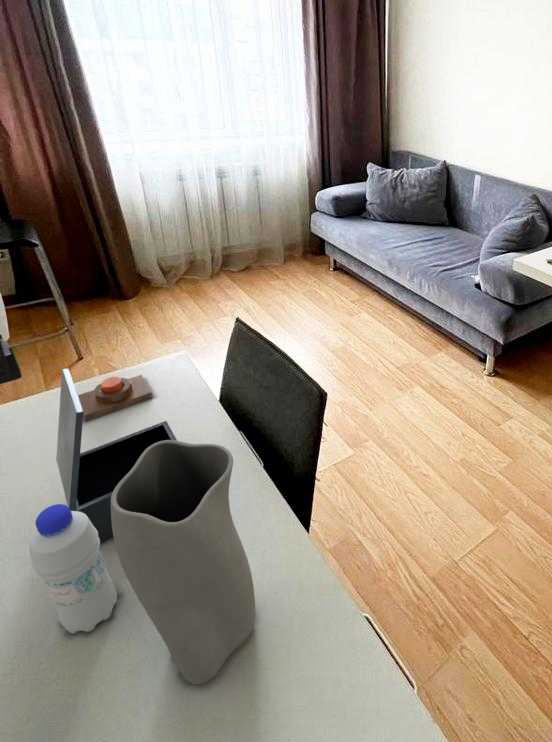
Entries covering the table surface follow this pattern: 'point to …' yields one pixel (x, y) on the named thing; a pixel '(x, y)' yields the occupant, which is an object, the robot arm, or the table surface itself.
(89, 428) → the table surface
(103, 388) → the button
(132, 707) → the table surface
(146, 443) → the box
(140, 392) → the block
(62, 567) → the bottle
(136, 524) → the vase
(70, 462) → the lid
